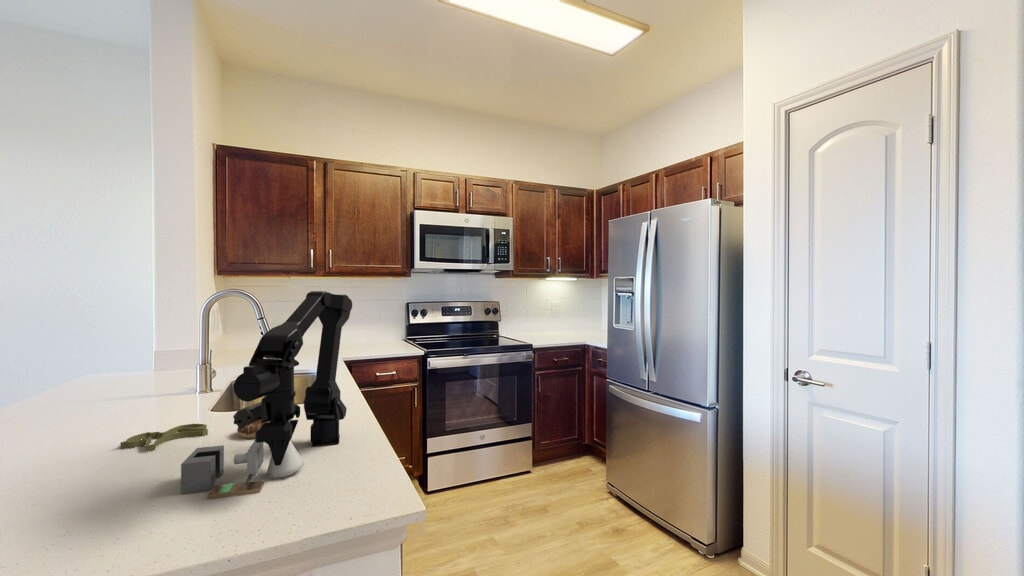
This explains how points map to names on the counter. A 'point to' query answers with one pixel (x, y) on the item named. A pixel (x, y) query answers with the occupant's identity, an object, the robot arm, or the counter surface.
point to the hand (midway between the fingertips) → (280, 460)
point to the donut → (250, 429)
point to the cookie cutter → (164, 436)
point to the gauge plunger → (251, 459)
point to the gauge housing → (211, 475)
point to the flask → (286, 463)
